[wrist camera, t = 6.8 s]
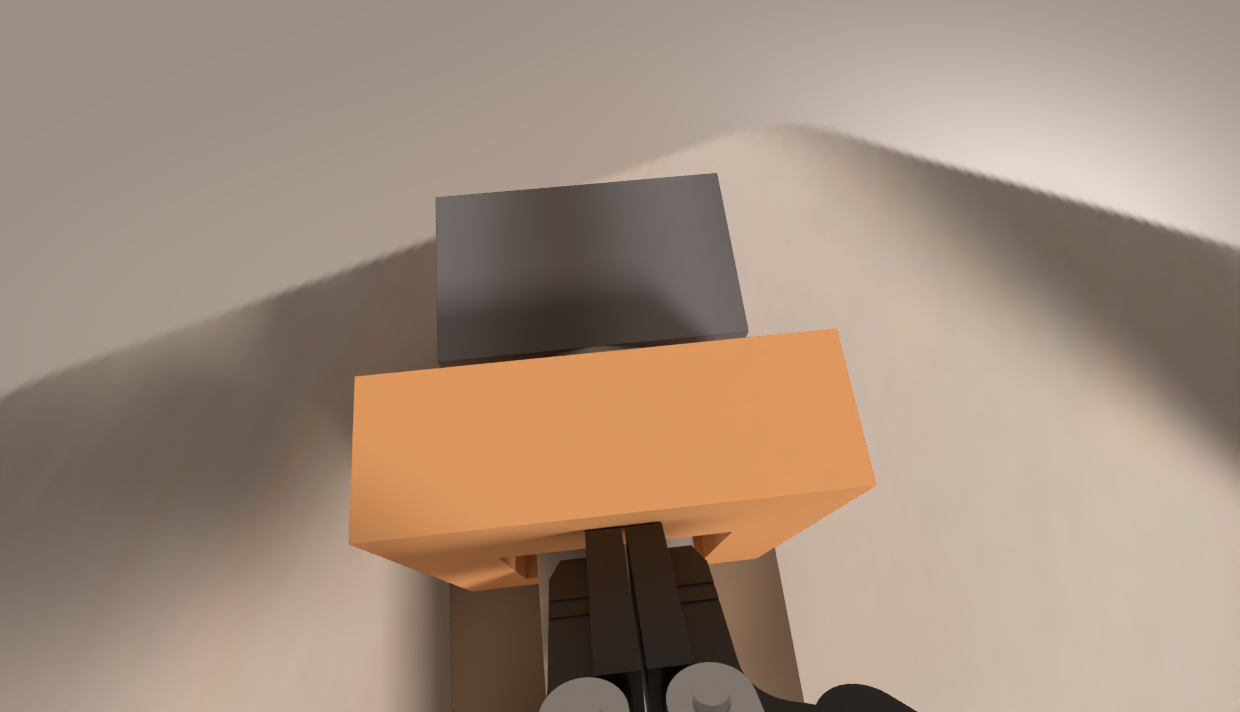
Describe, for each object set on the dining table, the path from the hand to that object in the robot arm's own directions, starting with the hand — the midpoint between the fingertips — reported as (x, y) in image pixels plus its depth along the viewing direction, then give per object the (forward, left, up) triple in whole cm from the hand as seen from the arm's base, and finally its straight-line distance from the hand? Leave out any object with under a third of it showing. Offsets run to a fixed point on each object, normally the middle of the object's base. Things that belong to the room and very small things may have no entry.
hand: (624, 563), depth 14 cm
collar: (0, -2, -9) cm, 9 cm away
